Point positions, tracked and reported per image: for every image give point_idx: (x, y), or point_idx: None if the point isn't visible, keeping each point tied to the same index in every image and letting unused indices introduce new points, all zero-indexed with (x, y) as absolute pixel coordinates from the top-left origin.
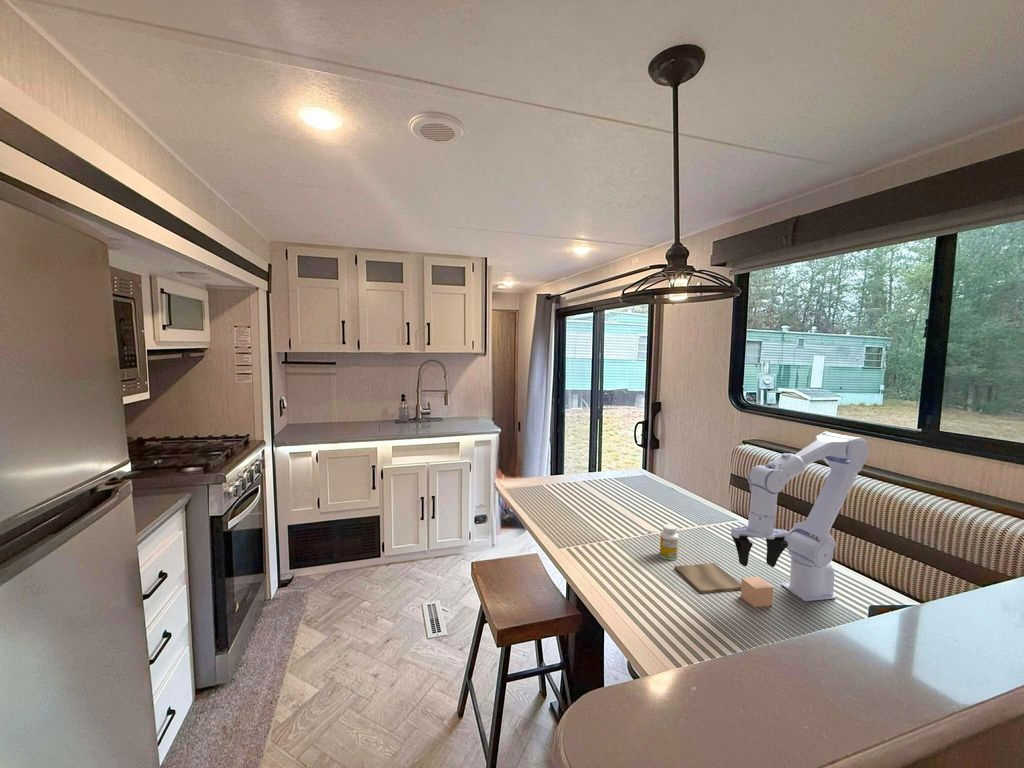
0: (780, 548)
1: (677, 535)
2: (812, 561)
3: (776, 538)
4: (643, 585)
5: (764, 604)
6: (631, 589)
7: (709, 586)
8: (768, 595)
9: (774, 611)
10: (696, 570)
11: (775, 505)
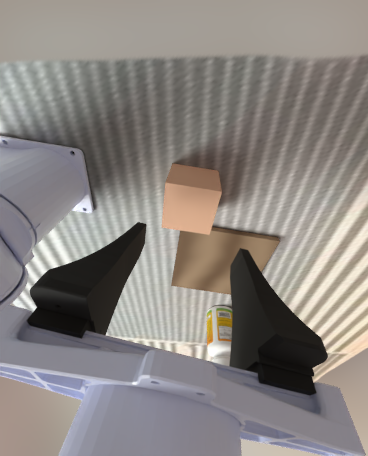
0: (96, 270)
1: (215, 349)
2: None
3: (81, 329)
4: (344, 279)
5: (192, 168)
6: None
7: (248, 245)
8: (181, 175)
9: (188, 143)
10: (222, 281)
11: None
